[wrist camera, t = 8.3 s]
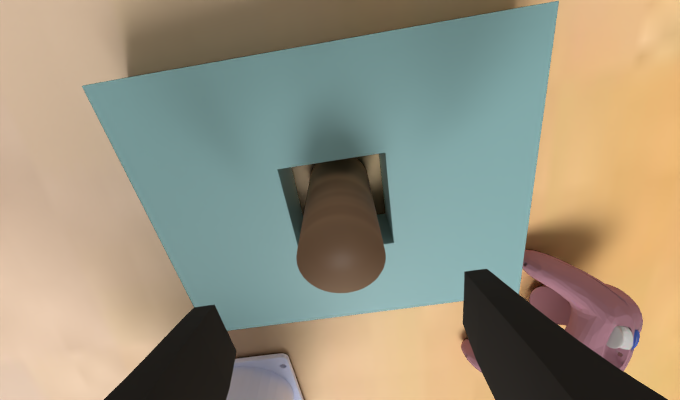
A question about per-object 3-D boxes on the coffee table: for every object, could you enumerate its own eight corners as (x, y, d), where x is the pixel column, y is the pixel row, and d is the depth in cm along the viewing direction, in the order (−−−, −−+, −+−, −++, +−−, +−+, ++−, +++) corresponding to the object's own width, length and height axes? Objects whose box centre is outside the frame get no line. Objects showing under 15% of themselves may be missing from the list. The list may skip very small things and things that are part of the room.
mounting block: (494, 260, 20) (518, 293, 17) (223, 296, 21) (207, 333, 19) (515, 8, 14) (558, 0, 11) (127, 77, 15) (81, 85, 12)
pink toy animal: (489, 335, 26) (575, 422, 21) (451, 350, 23) (537, 453, 18) (554, 237, 21) (684, 316, 16) (515, 243, 19) (653, 338, 14)
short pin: (370, 202, 18) (388, 287, 12) (315, 209, 18) (305, 297, 12) (364, 149, 17) (381, 215, 10) (305, 157, 17) (287, 227, 11)
